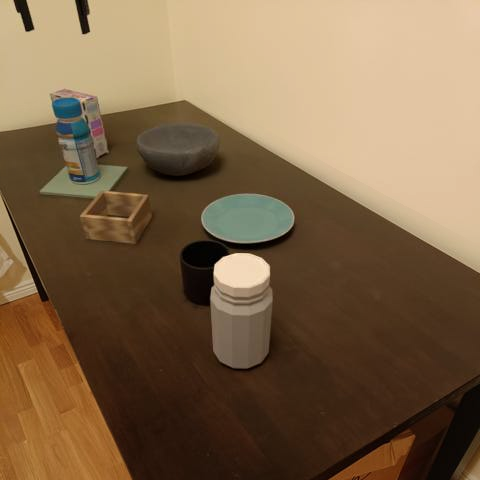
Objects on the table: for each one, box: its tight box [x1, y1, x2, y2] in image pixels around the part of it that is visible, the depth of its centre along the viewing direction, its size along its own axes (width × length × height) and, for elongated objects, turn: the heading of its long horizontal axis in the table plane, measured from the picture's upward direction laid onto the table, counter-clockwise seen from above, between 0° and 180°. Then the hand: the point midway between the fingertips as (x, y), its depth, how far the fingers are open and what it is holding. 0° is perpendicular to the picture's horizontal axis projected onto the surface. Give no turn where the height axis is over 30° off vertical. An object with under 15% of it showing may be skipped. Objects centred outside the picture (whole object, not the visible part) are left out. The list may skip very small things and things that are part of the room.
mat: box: [39, 164, 129, 200], centre depth 119 cm, size 18×18×1 cm
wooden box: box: [79, 190, 153, 245], centre depth 101 cm, size 12×12×6 cm
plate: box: [200, 193, 295, 245], centre depth 102 cm, size 22×22×3 cm
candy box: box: [49, 88, 110, 160], centre depth 128 cm, size 14×6×16 cm, turn 58°
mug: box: [179, 239, 231, 306], centre depth 84 cm, size 9×12×9 cm
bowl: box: [135, 122, 220, 177], centre depth 122 cm, size 23×22×10 cm
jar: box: [210, 252, 274, 370], centre depth 68 cm, size 10×10×18 cm
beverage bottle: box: [51, 97, 100, 184], centre depth 112 cm, size 8×8×20 cm
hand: (58, 32), depth 97 cm, fingers open, 13 cm apart
